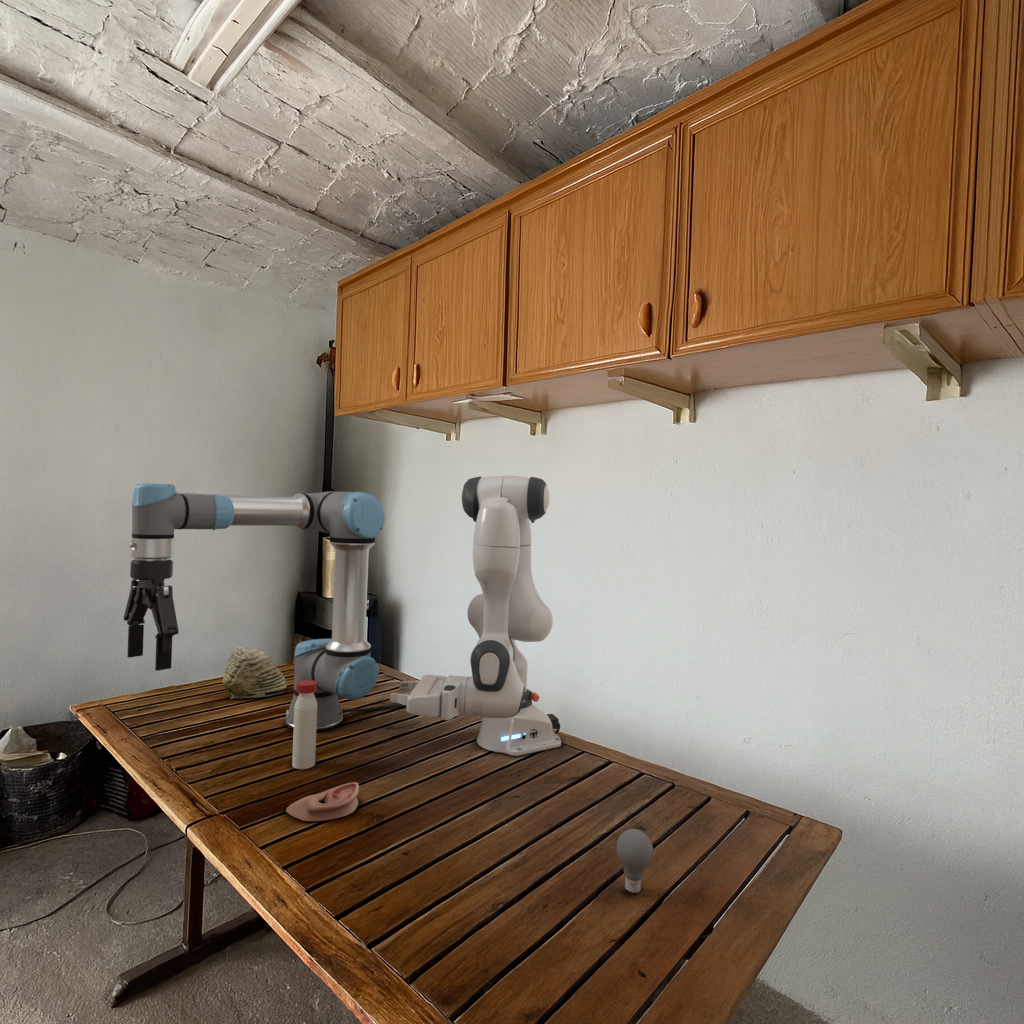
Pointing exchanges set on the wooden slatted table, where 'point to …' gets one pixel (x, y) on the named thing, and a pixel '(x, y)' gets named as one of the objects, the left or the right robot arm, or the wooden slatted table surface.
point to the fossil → (252, 674)
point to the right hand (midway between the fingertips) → (395, 691)
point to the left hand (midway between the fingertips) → (148, 662)
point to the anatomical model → (326, 804)
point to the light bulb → (634, 857)
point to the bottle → (304, 731)
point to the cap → (306, 686)
